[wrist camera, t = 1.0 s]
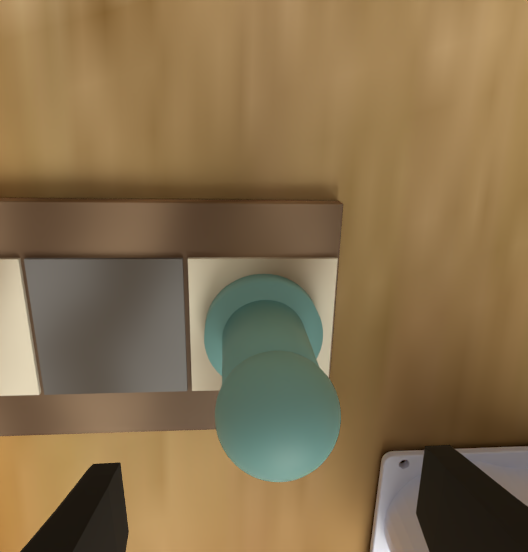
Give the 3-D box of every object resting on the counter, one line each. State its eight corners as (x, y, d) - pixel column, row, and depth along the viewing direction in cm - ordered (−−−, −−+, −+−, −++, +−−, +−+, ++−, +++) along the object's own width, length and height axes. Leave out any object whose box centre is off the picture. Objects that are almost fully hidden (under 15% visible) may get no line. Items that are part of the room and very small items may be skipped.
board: (338, 200, 18) (344, 205, 17) (322, 414, 22) (327, 428, 21) (-329, 195, 16) (-363, 199, 15) (-237, 431, 20) (-260, 447, 19)
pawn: (321, 273, 18) (384, 374, 11) (314, 375, 20) (366, 523, 13) (204, 273, 18) (189, 379, 11) (206, 378, 19) (195, 531, 12)
